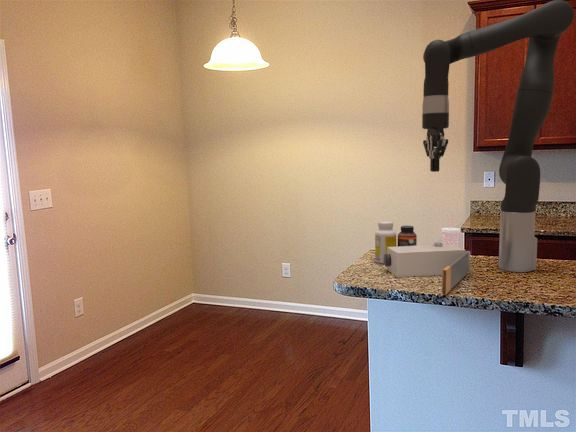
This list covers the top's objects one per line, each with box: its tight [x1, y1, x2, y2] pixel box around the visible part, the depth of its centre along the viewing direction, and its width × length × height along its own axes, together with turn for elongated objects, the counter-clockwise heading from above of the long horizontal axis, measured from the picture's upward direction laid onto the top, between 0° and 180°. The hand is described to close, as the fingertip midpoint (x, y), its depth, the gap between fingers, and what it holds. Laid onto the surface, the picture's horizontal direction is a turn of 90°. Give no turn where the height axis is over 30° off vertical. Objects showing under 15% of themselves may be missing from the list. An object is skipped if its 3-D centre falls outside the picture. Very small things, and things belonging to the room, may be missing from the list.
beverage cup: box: [440, 213, 461, 247], centre depth 168 cm, size 6×6×14 cm
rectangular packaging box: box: [383, 242, 466, 278], centre depth 147 cm, size 21×9×8 cm, turn 97°
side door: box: [441, 250, 471, 296], centre depth 133 cm, size 26×1×6 cm, turn 148°
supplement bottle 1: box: [374, 220, 397, 265], centre depth 160 cm, size 7×7×13 cm
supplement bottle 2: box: [397, 225, 418, 247], centre depth 161 cm, size 6×6×11 cm
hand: (434, 171), depth 150 cm, fingers closed
